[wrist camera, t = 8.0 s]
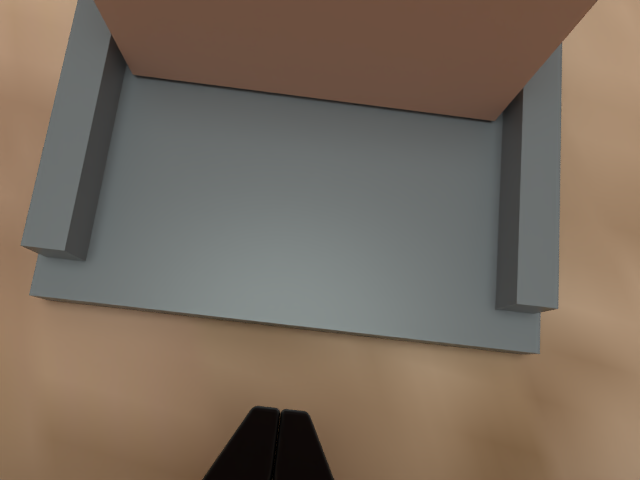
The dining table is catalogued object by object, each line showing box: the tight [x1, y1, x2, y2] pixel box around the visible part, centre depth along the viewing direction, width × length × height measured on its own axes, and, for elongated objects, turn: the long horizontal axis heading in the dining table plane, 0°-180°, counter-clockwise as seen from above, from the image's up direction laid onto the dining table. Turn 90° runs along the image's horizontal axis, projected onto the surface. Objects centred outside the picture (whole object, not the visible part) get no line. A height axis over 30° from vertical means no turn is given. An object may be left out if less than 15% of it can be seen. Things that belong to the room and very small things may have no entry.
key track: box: [21, 0, 562, 354], centre depth 16 cm, size 16×13×2 cm
